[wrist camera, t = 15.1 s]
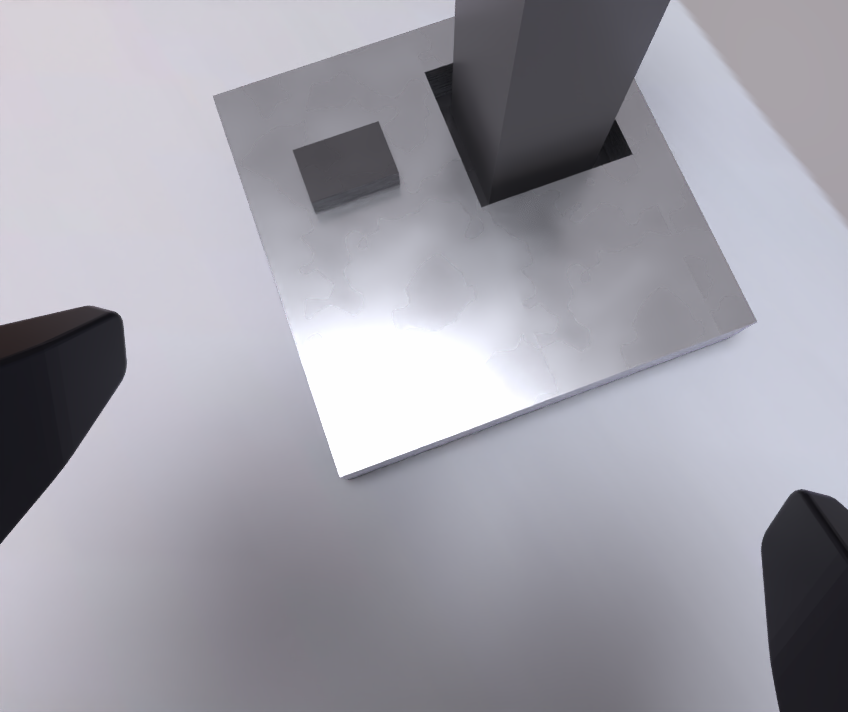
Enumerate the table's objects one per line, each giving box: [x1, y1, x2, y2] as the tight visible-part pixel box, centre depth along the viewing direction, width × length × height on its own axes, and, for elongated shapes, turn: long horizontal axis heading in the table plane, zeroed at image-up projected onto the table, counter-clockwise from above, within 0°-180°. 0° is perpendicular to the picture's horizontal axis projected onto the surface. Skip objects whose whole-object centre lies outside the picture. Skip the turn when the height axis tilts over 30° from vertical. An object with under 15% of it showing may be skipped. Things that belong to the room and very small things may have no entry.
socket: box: [213, 17, 757, 480], centre depth 22 cm, size 14×14×3 cm
